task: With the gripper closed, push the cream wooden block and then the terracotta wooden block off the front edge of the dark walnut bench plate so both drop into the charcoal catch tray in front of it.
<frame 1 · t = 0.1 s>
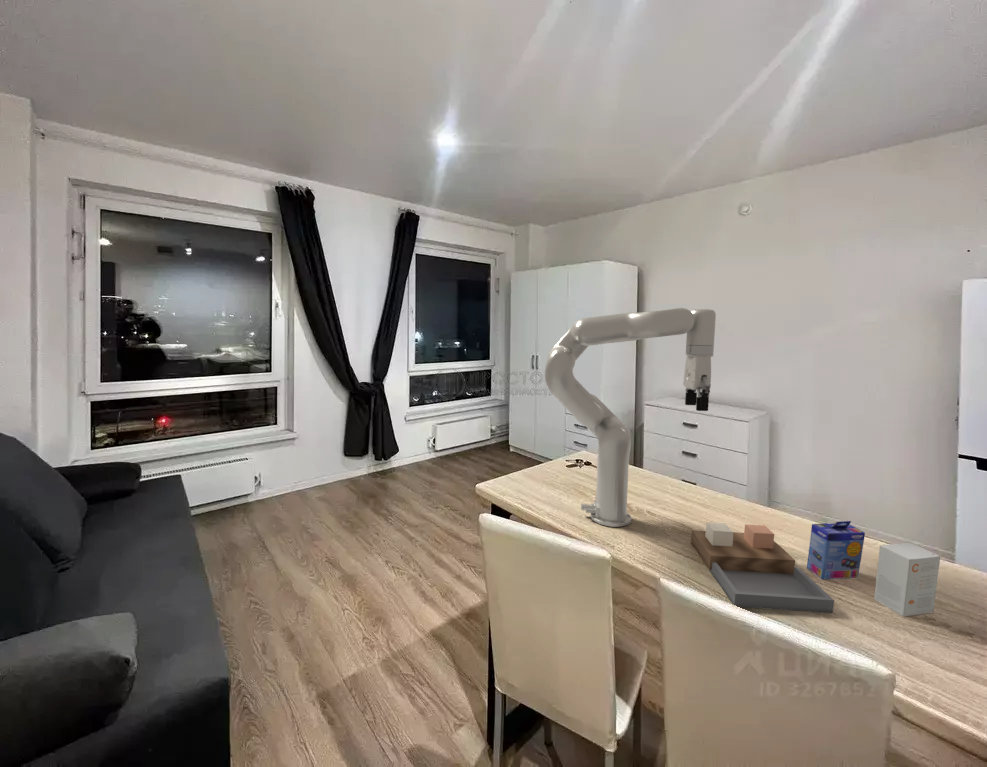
hand: (696, 407, 132), 37 cm above the table, tool pointing down, fingers open, 9 cm apart
terracotta block: (758, 543, 116), point 4 cm above the table, touching bench plate
bench plate: (738, 558, 116), on the table
catch tray: (766, 590, 101), on the table
small box: (902, 607, 96), on the table
cream block: (718, 541, 117), point 4 cm above the table, touching bench plate
ink cartridge box: (832, 574, 109), on the table
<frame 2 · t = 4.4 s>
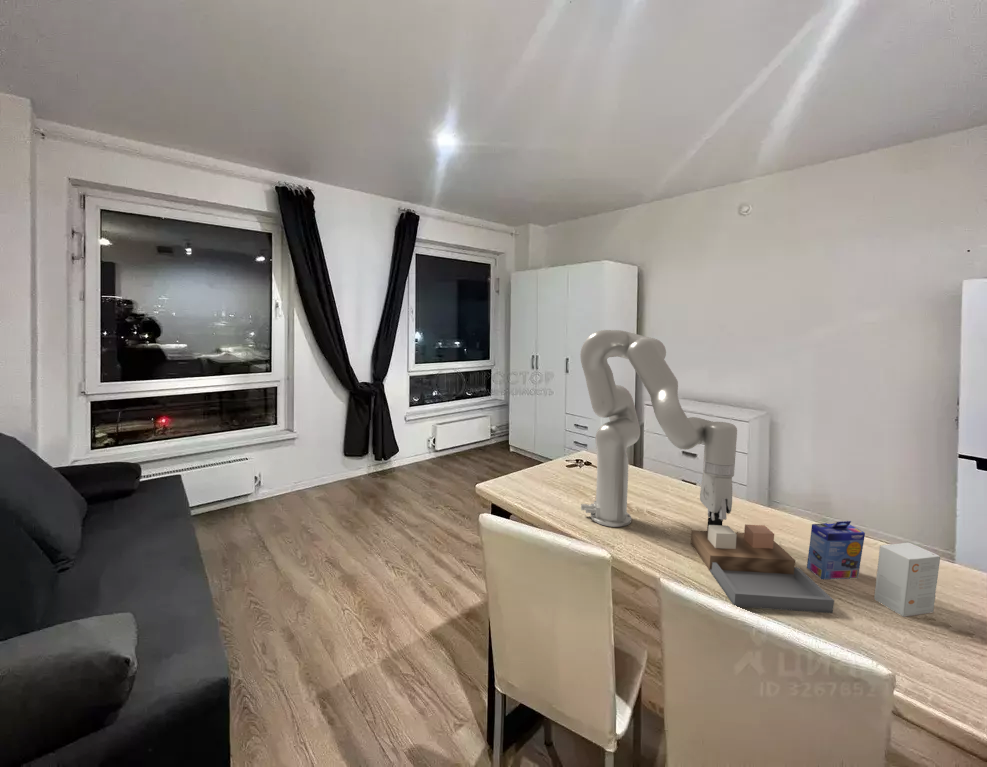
hand: (714, 532, 120), 5 cm above the table, tool pointing down, fingers closed
cream block: (721, 543, 115), point 4 cm above the table, touching gripper
everything else where it was.
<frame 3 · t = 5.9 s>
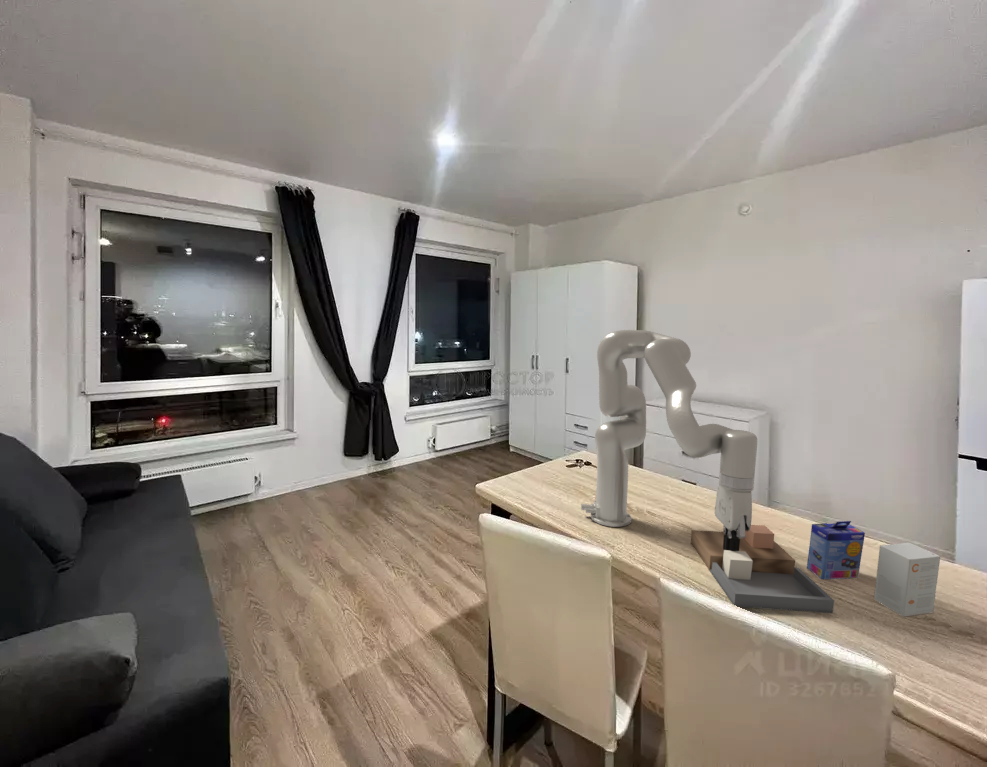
hand: (730, 551, 109), 5 cm above the table, tool pointing down, fingers closed
cream block: (733, 559, 109), point 3 cm above the table, tilted 94°, touching catch tray, gripper
everything else where it was.
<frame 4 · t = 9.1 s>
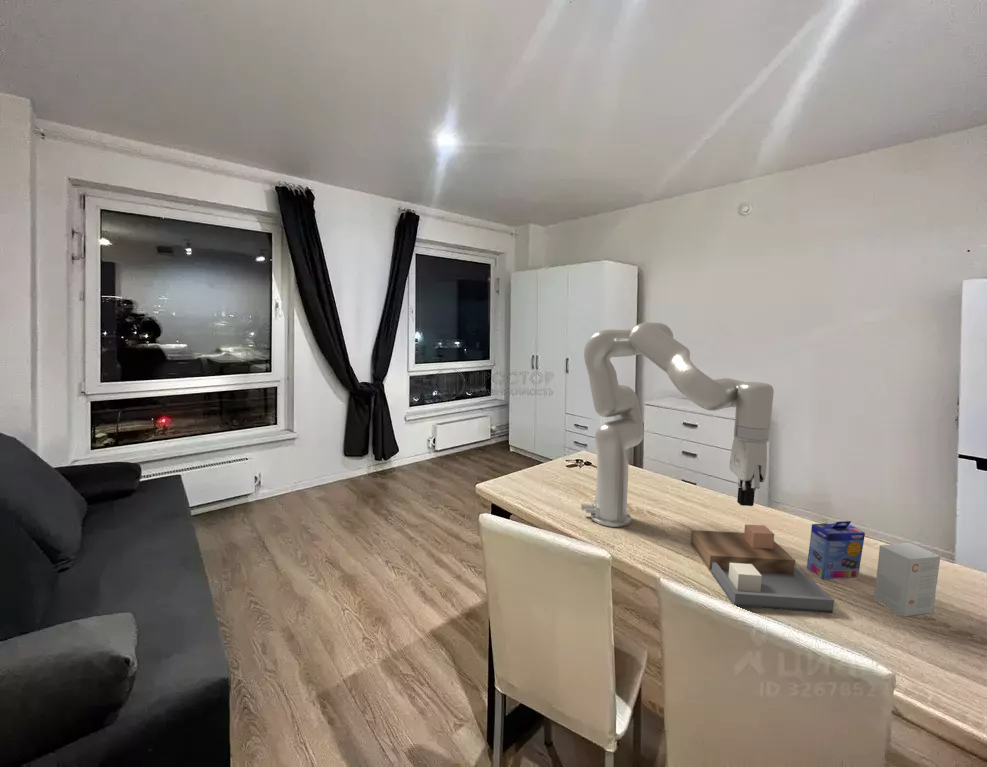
hand: (745, 504, 109), 17 cm above the table, tool pointing down, fingers closed
cream block: (745, 568, 102), point 5 cm above the table, tilted 180°, touching catch tray
everything else where it was.
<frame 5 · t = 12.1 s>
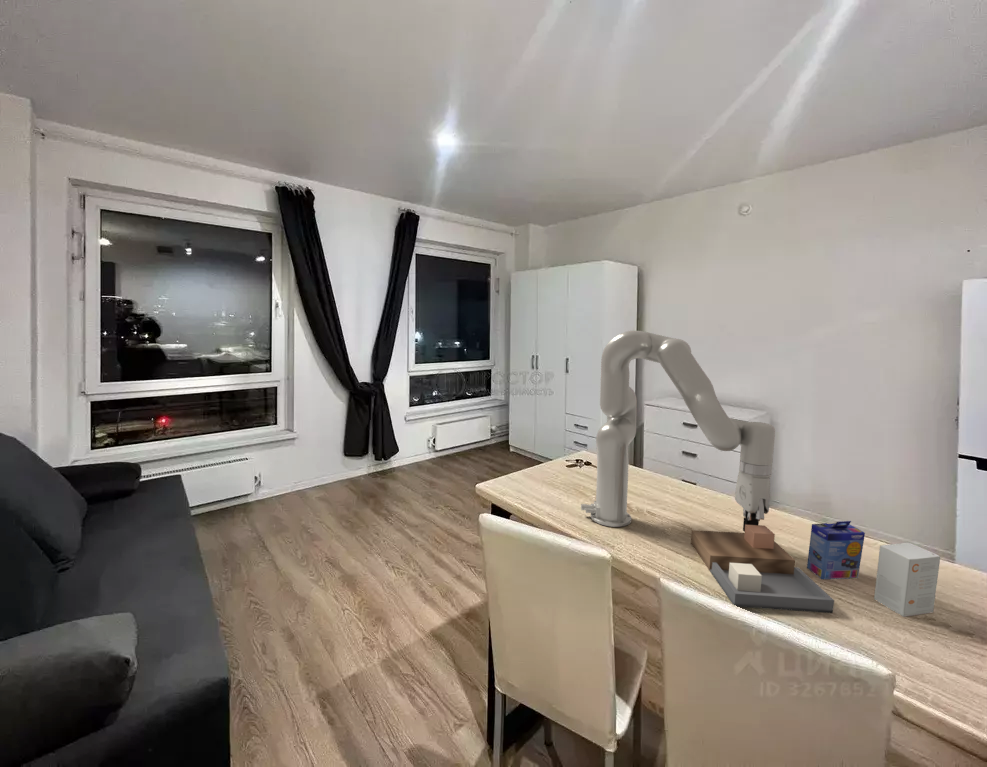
hand: (750, 532, 120), 5 cm above the table, tool pointing down, fingers closed
terracotta block: (758, 543, 116), point 4 cm above the table, touching bench plate, gripper
everything else where it was.
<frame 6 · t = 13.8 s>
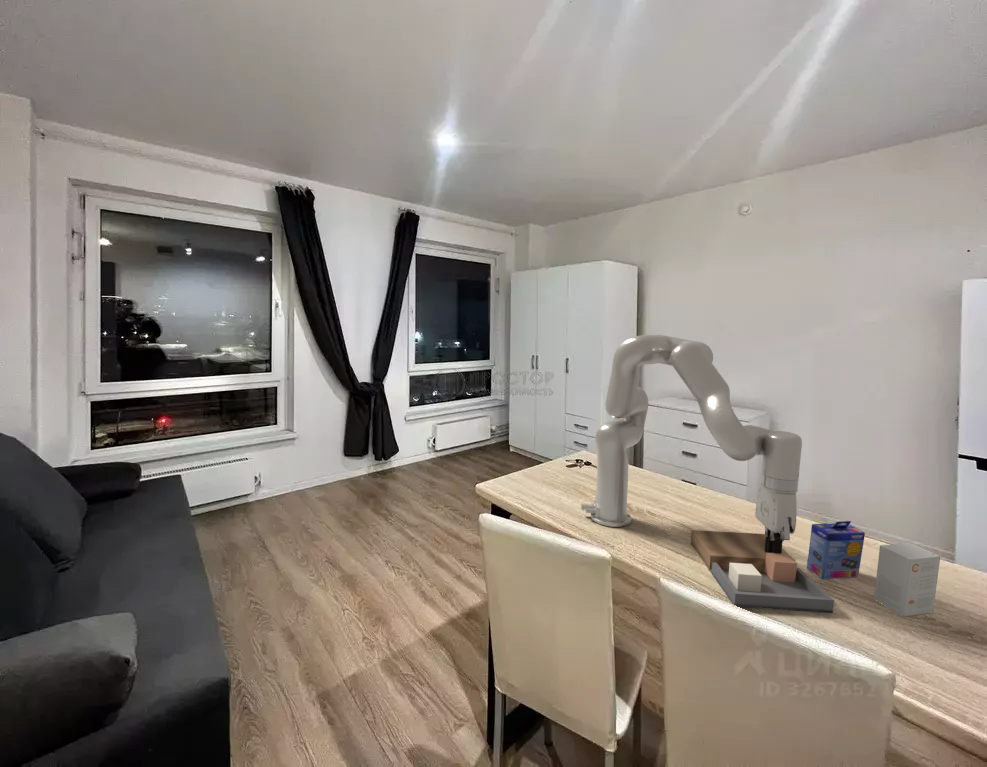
hand: (772, 553, 109), 5 cm above the table, tool pointing down, fingers closed
terracotta block: (776, 562, 108), point 3 cm above the table, tilted 93°, touching catch tray, gripper
everything else where it was.
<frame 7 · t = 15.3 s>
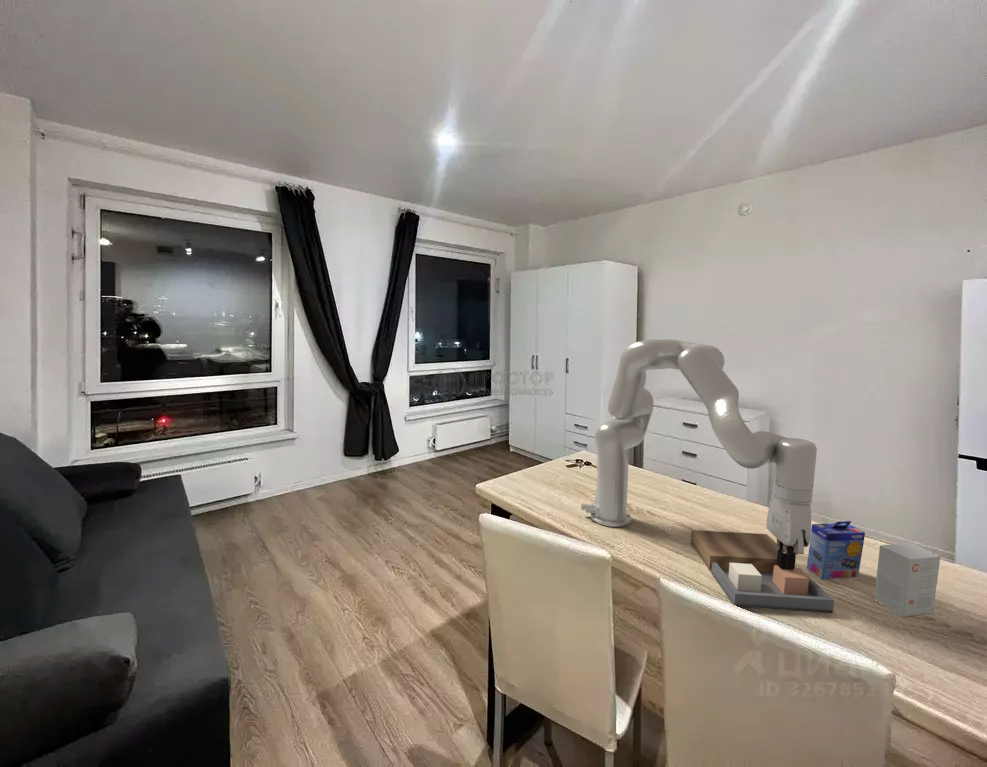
hand: (785, 567, 103), 5 cm above the table, tool pointing down, fingers closed
terracotta block: (790, 571, 101), point 5 cm above the table, tilted 180°, touching catch tray
everything else where it was.
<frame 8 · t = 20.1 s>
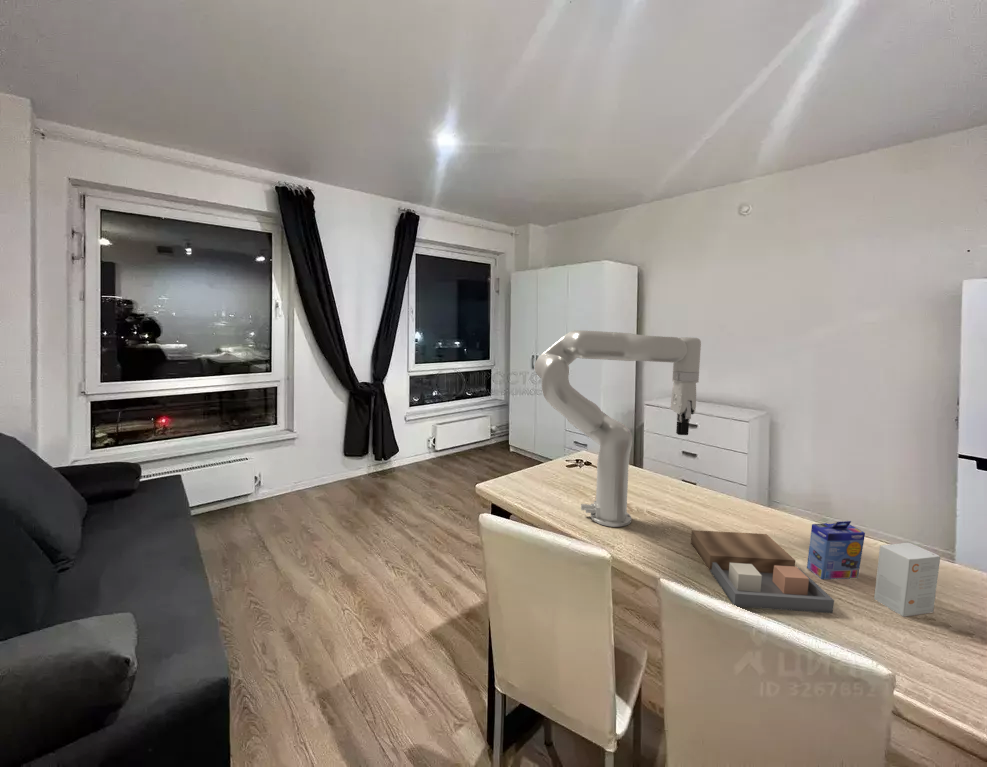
hand: (682, 434, 139), 27 cm above the table, tool pointing down, fingers closed
nothing on the table moved.
at the end: cream block inside the target area on the catch tray (4.7 cm from its centre), point 4.6 cm above the catch tray's base; terracotta block inside the target area on the catch tray (5.3 cm from its centre), point 4.6 cm above the catch tray's base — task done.
